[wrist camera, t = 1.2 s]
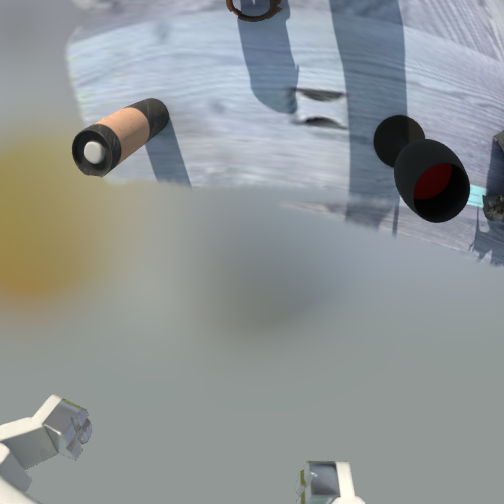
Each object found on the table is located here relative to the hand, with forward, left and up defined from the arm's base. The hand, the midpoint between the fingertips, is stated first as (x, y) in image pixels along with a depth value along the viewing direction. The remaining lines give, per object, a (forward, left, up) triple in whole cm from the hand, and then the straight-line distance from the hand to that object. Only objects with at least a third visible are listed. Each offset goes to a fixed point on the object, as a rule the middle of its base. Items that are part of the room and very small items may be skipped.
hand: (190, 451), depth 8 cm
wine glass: (+7, +21, -50) cm, 54 cm away
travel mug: (-3, -24, -50) cm, 56 cm away
